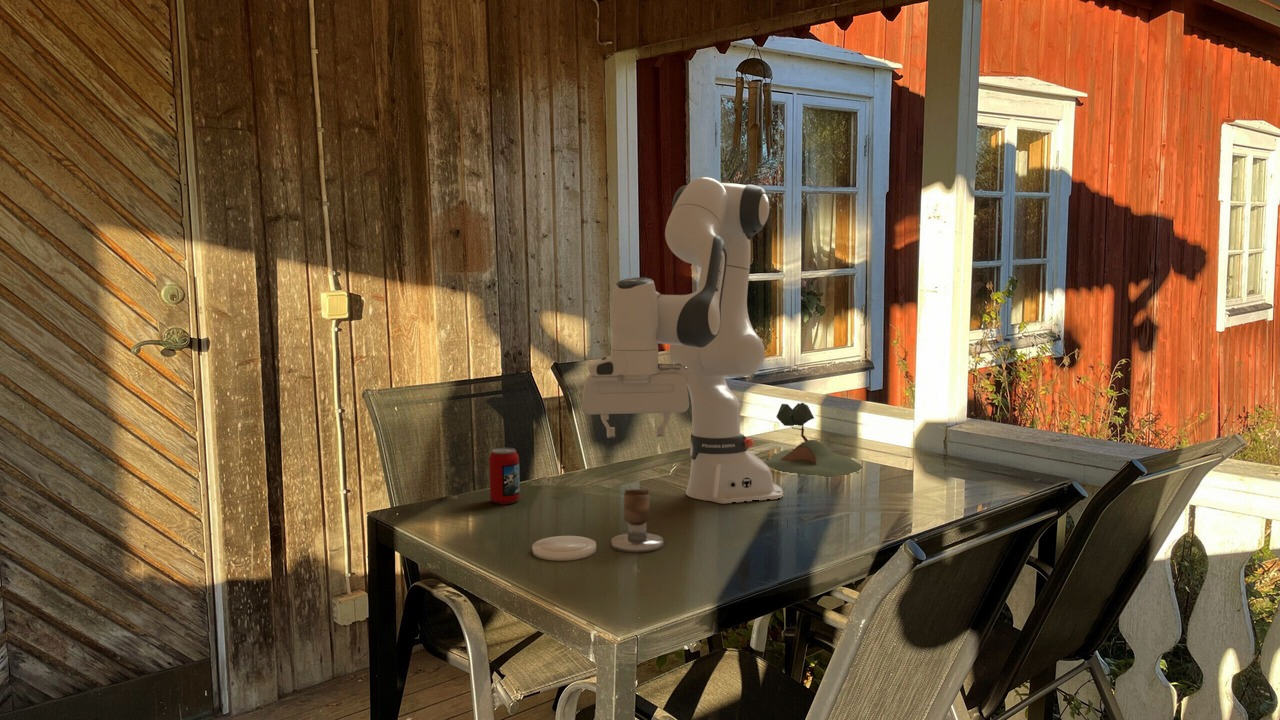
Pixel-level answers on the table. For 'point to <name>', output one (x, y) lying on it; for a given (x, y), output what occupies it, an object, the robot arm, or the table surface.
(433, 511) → the table surface
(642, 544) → the pedestal
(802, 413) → the plant
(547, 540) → the saucer
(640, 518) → the cap
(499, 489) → the beverage can
